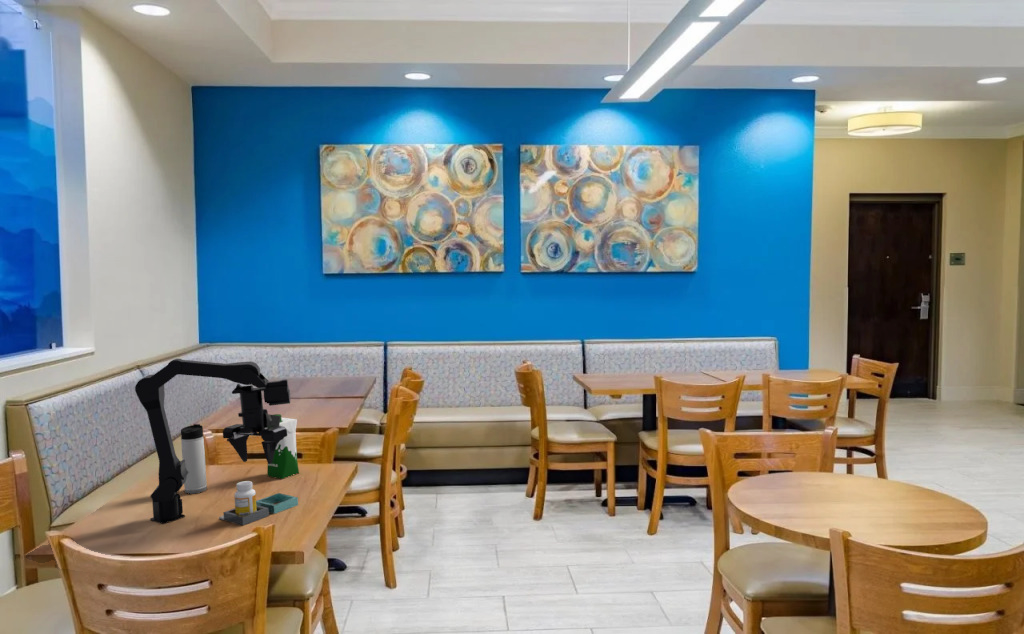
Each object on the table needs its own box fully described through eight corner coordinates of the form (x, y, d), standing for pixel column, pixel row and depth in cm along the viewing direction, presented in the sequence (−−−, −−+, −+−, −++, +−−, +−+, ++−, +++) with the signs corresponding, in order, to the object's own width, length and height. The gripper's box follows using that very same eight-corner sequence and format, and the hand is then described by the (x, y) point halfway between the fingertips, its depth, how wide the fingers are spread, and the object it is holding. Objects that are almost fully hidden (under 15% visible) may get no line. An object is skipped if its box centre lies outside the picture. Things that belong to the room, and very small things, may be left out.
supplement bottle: (250, 513, 200) (248, 478, 199) (261, 517, 197) (258, 482, 196) (232, 519, 196) (229, 483, 195) (242, 523, 193) (240, 487, 192)
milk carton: (263, 476, 235) (259, 415, 233) (285, 469, 242) (281, 410, 241) (281, 480, 230) (277, 418, 228) (303, 472, 238) (300, 412, 236)
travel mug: (211, 487, 225) (207, 423, 224) (200, 494, 219) (195, 428, 217) (192, 487, 226) (187, 424, 224) (180, 494, 219) (176, 429, 218)
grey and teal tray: (243, 525, 191) (242, 517, 190) (219, 519, 196) (218, 511, 196) (298, 504, 206) (297, 497, 206) (274, 499, 211) (274, 491, 211)
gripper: (298, 402, 204) (303, 456, 206) (248, 400, 212) (254, 452, 214) (269, 411, 194) (275, 468, 195) (218, 409, 202) (224, 463, 203)
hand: (257, 462), depth 202 cm, fingers open, 9 cm apart
